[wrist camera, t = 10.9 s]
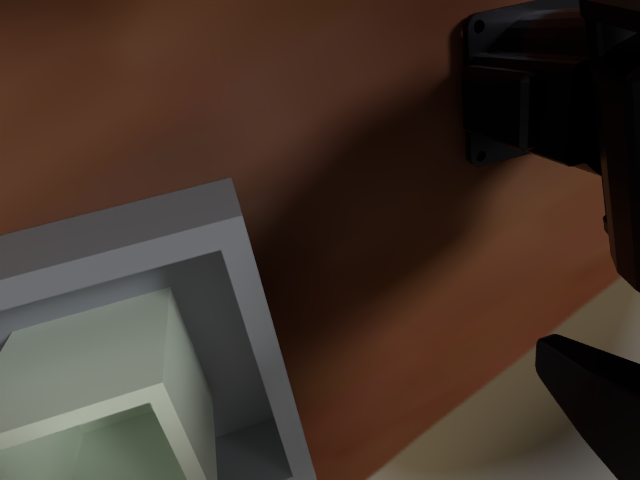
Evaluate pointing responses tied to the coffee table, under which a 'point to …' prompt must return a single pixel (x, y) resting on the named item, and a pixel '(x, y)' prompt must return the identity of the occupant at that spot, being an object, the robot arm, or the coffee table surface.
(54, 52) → the coffee table surface
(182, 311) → the grey crate
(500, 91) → the robot arm
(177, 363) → the sage crate
